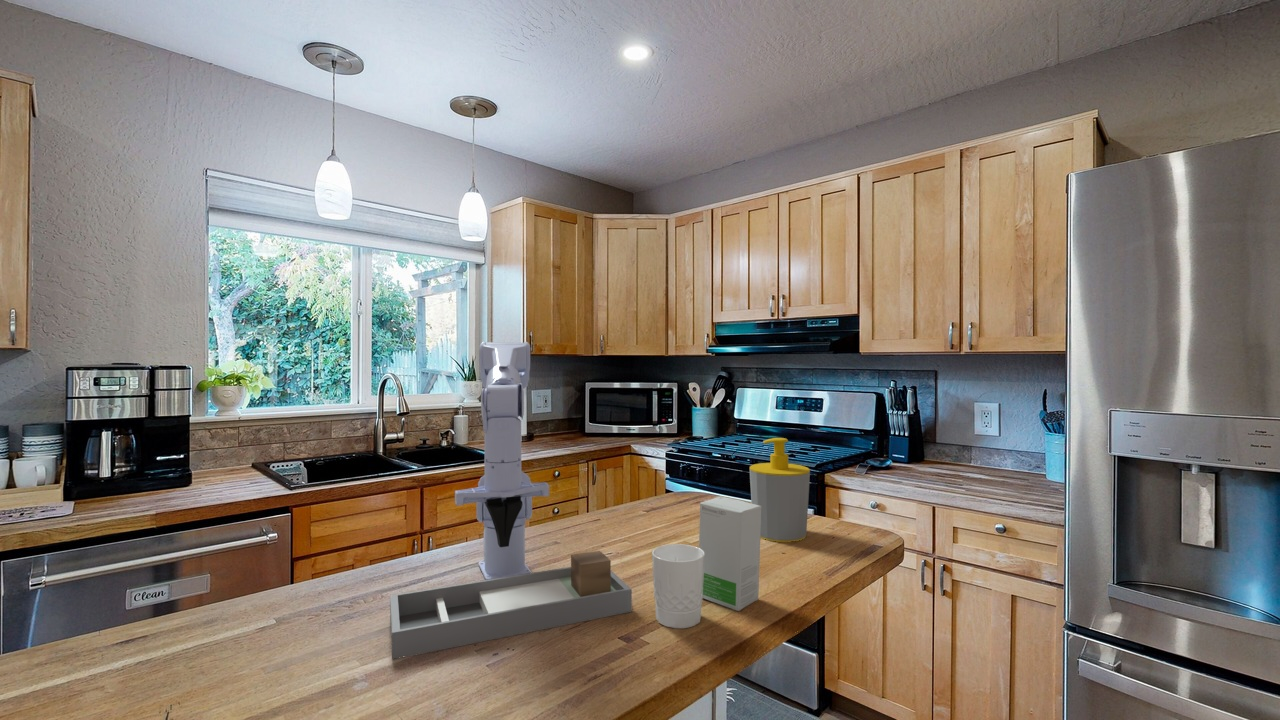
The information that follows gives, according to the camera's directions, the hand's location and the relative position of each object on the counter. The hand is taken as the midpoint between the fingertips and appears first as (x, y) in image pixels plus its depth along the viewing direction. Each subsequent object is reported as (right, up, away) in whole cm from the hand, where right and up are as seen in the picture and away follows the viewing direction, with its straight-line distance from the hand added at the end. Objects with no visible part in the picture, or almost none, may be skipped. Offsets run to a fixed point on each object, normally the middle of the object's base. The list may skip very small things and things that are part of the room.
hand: (503, 545), depth 92 cm
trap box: (+2, -9, -4) cm, 10 cm away
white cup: (+28, -10, -5) cm, 30 cm away
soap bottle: (+53, -9, +36) cm, 65 cm away
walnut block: (+14, -7, +1) cm, 16 cm away
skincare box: (+36, -10, +2) cm, 38 cm away
